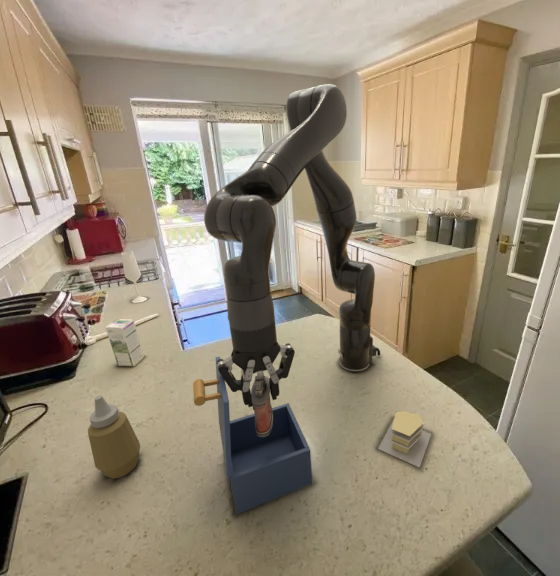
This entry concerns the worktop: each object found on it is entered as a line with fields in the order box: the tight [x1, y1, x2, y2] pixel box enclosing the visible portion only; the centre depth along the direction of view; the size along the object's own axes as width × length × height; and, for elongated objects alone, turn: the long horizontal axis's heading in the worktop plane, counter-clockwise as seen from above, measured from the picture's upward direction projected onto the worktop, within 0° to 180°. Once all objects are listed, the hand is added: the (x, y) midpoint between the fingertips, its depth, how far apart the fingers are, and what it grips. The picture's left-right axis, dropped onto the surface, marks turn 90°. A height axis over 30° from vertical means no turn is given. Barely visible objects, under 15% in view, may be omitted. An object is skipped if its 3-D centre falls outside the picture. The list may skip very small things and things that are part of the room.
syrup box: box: [105, 318, 145, 367], centre depth 100 cm, size 6×6×14 cm
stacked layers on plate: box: [377, 410, 432, 469], centre depth 68 cm, size 10×9×6 cm
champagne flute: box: [120, 251, 148, 304], centre depth 148 cm, size 7×7×24 cm
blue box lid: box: [192, 356, 232, 479], centre depth 55 cm, size 15×14×5 cm
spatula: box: [84, 313, 159, 346], centre depth 124 cm, size 28×4×3 cm, turn 148°
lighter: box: [250, 371, 273, 437], centre depth 58 cm, size 8×3×10 cm, turn 6°
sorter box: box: [229, 403, 313, 515], centre depth 62 cm, size 15×14×9 cm
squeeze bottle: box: [87, 395, 141, 479], centre depth 62 cm, size 8×8×18 cm
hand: (262, 400), depth 58 cm, fingers closed on lighter, 4 cm apart
